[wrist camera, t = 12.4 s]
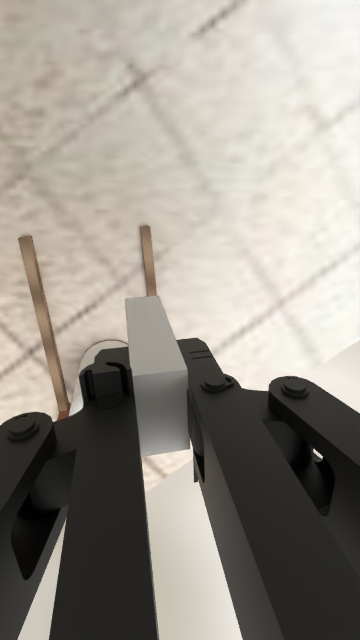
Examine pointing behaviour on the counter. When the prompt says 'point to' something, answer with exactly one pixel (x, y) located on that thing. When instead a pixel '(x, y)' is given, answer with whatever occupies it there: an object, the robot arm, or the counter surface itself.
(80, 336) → the counter surface
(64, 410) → the guide channel
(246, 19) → the counter surface
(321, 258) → the counter surface
